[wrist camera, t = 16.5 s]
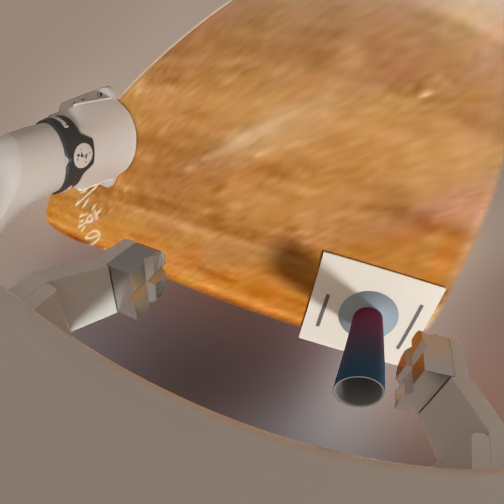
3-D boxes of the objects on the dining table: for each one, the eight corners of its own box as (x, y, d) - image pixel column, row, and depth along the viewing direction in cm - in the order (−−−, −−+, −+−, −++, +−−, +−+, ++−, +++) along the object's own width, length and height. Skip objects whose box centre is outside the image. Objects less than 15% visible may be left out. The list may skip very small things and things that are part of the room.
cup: (385, 299, 44) (383, 374, 32) (389, 332, 46) (385, 406, 34) (343, 304, 47) (328, 377, 35) (350, 336, 49) (336, 408, 37)
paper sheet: (298, 336, 54) (298, 337, 54) (324, 251, 44) (323, 252, 44) (400, 364, 49) (400, 366, 49) (445, 287, 40) (446, 289, 39)
